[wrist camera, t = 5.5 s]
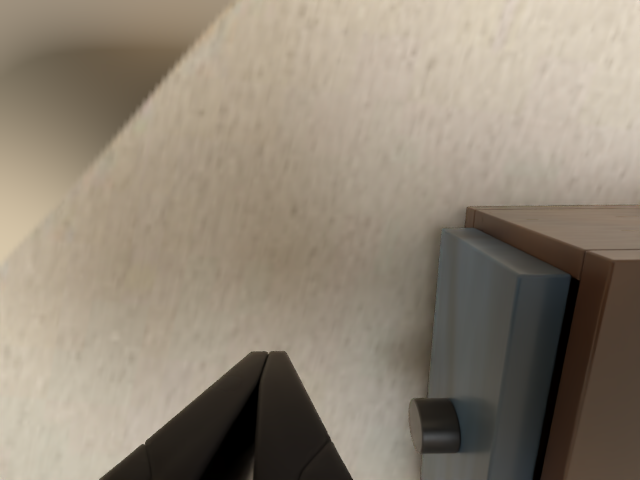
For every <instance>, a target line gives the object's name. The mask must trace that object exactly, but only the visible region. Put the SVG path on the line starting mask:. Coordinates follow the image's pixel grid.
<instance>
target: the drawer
mask: <svg viewBox="0 0 640 480" xmlns="http://www.w3.org/2000/svg"><path fill="white" fill-rule="evenodd" d="M579 283H580V280H577V279H575V278H573V277H571V275H570V274H568V273H566V272H564V271H562V270H560V269H558V268H556V267H554V266H552V265H550V264H548V263H546V262H544V261H542V260H540V259H537V258H535V257H533V256H531V255H529V254H527V253H525V252H523V251H521V250H519V249H517V248H515V247H513V246H511V245H509V244H507V243H504V242H502V241H500V240H498V239H496V238H494V237H492V236H490V235H488V234H486V233H484V232H482V231H480V230H478V229H476V228H443V229H442V232H441V244H440V256H439V267H438V279H437V291H436V302H435V314H434V325H433V337H432V349H431V360H430V372H429V384H428V395H427V398H413V399H411V400H410V404H409V426H410V432H411V437H412V441H413V444H414V447H415V449H416V451H417V452H418V453H420V454H422V465H421V477H420V480H540V478H541V473H542V468H543V463H544V458H545V453H546V448H547V443H548V438H549V433H550V428H551V423H552V418H553V413H554V408H555V403H556V398H557V393H558V388H559V383H560V378H561V373H562V368H563V363H564V358H565V353H566V348H567V343H568V338H569V333H570V328H571V323H572V318H573V313H574V308H575V303H576V298H577V293H578V288H579Z"/></svg>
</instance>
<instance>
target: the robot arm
mask: <svg viewBox="0 0 640 480" xmlns="http://www.w3.org/2000/svg"><path fill="white" fill-rule="evenodd" d="M99 480H353V479H352V477H351V475H350V473H349V472H348V470H347V468H346V466H345V464H344V463H343V461H342V459H341V457H340V456H339V454H338V452H337V450H336V448H335V446H334V444H333V442H331V438H330V436H329V435H328V433H327V431H326V429H325V427H324V425H323V423H322V421H321V419H320V417H319V415H318V413H317V411H316V409H315V407H314V405H313V403H312V401H311V399H310V397H309V396H308V394H307V392H306V390H305V388H304V386H303V384H302V382H301V380H300V378H299V376H298V374H297V372H296V370H295V368H294V366H293V364H292V362H291V360H290V358H289V356H288V355H287V353H286V352H285V351H271V352H269V354H268V352H266V351H256V352H251V353H249V354H248V355H247V356H246V357H245V358H243V359H242V360H241V361H240V362H239V363H237V364H236V365H235V366H234V367H233V368H232V369H230V370H229V371H228V372H227V373H226V374H224V375H223V376H222V377H221V378H220V379H219V380H217V381H216V382H215V383H214V384H213V385H211V386H210V387H209V388H208V389H207V390H206V391H204V392H203V393H202V394H201V395H200V396H198V397H197V398H196V399H195V400H194V401H193V402H191V403H190V404H189V405H188V406H187V407H185V408H184V409H183V410H182V411H181V412H180V413H178V414H177V415H176V416H175V417H174V418H172V419H171V420H170V421H169V422H168V423H167V424H165V425H164V426H163V427H162V428H161V429H159V430H158V431H157V432H156V433H155V434H154V435H152V436H151V437H150V438H149V439H148V440H146V442H145V445H144V444H142V445H140V446H139V447H138V448H137V449H136V450H134V451H133V452H132V453H131V454H130V455H128V456H127V457H126V458H125V459H124V460H122V461H121V462H120V463H119V464H118V465H116V466H115V467H114V468H113V469H111V470H110V471H109V472H108V473H106V474H105V475H104V476H103V477H102V478H100V479H99Z"/></svg>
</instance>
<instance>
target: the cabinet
mask: <svg viewBox="0 0 640 480" xmlns="http://www.w3.org/2000/svg"><path fill="white" fill-rule="evenodd" d="M465 228H476V229H478V230H480V231H482V232H484V233H486V234H488V235H490V236H492V237H494V238H496V239H498V240H500V241H502V242H504V243H507V244H509V245H511V246H513V247H515V248H517V249H519V250H521V251H523V252H525V253H527V254H529V255H531V256H533V257H535V258H537V259H540V260H542V261H544V262H546V263H548V264H550V265H552V266H554V267H556V268H558V269H560V270H562V271H564V272H566V273H568V274H570V275H571V277H573V278H575V279H577V280H580V283H579V288H578V293H577V298H576V303H575V308H574V313H573V318H572V323H571V328H570V333H569V338H568V343H567V348H566V353H565V358H564V363H563V368H562V373H561V378H560V383H559V388H558V393H557V398H556V403H555V408H554V413H553V418H552V423H551V428H550V433H549V438H548V443H547V448H546V453H545V458H544V463H543V468H542V473H541V478H540V480H640V205H587V206H479V207H467V212H466V221H465Z"/></svg>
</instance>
